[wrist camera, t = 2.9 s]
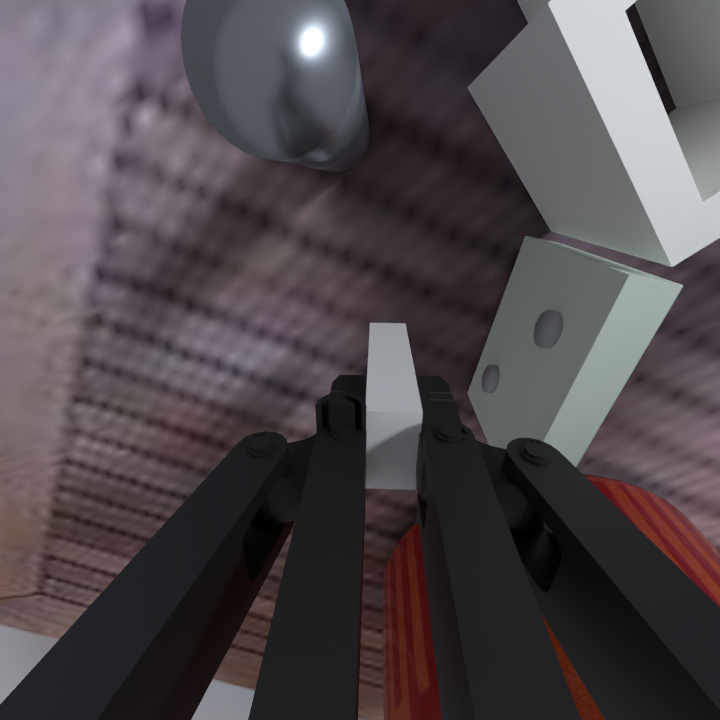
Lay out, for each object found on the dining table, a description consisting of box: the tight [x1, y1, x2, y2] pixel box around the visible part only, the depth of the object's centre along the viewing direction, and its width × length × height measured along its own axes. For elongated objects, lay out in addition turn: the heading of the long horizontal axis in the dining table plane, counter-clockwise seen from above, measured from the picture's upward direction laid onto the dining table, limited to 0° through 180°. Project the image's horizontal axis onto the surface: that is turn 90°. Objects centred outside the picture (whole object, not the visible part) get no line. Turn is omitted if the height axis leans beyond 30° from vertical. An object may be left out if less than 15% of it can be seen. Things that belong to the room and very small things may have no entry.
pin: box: [181, 0, 370, 172], centre depth 11 cm, size 3×3×11 cm
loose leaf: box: [467, 236, 684, 467], centre depth 16 cm, size 2×9×8 cm, turn 170°
